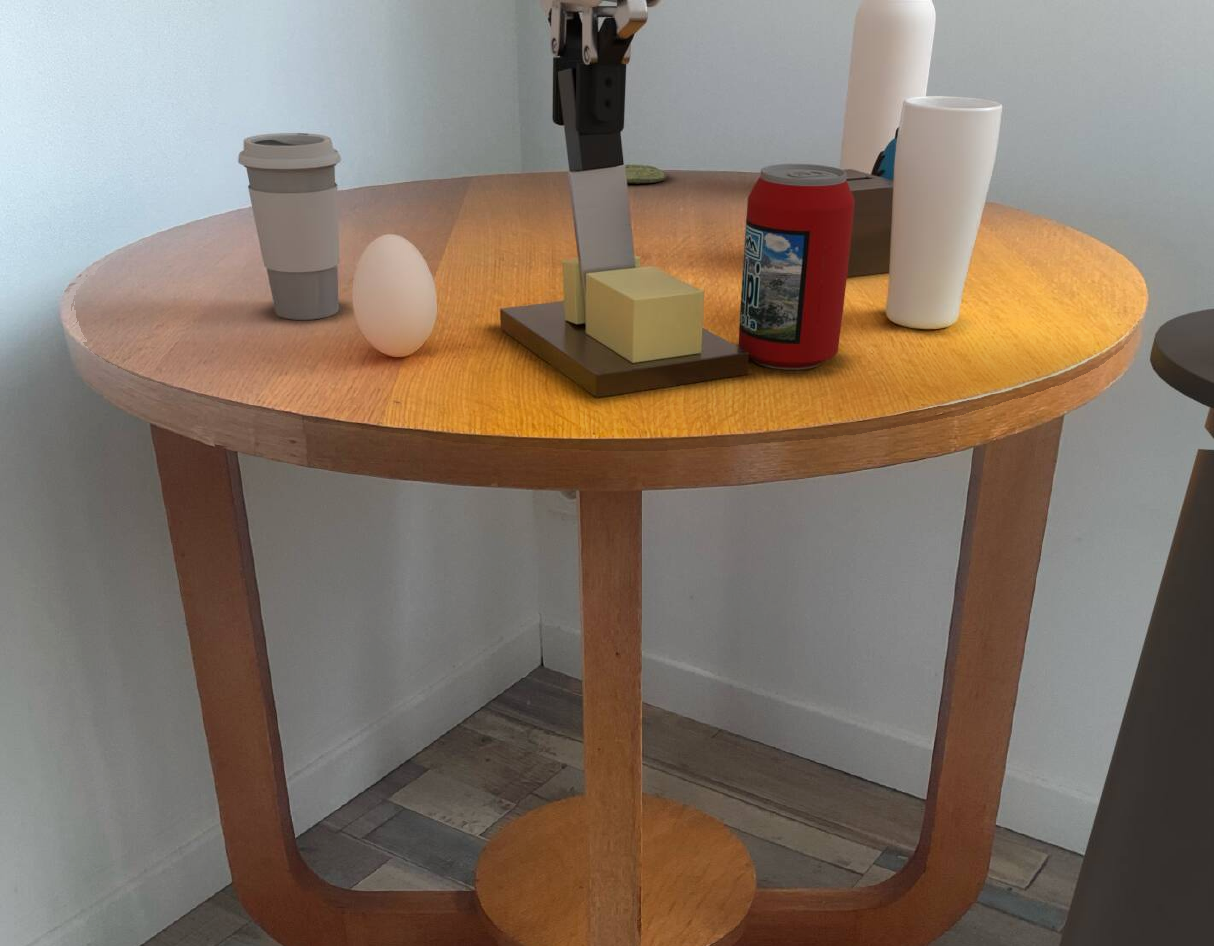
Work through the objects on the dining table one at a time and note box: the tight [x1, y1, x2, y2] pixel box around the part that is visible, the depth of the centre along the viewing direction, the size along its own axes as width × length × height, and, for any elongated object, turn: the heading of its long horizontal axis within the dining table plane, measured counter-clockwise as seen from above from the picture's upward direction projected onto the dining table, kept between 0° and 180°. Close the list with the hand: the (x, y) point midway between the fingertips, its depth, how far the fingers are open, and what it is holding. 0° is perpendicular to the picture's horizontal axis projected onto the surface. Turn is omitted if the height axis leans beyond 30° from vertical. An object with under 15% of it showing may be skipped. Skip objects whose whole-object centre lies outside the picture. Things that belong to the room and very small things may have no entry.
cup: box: [237, 132, 342, 321], centre depth 87 cm, size 7×7×12 cm
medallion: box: [624, 164, 667, 185], centre depth 137 cm, size 8×8×1 cm
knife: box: [558, 68, 636, 321], centre depth 80 cm, size 2×4×16 cm, turn 116°
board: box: [499, 300, 750, 398], centre depth 82 cm, size 16×11×2 cm
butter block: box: [586, 265, 705, 363], centre depth 78 cm, size 7×5×4 cm
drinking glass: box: [885, 95, 1003, 330], centre depth 86 cm, size 7×7×15 cm
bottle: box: [838, 0, 937, 174], centre depth 123 cm, size 8×8×30 cm
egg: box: [351, 233, 438, 358], centre depth 79 cm, size 6×6×8 cm
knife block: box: [844, 169, 893, 278], centre depth 102 cm, size 8×7×7 cm
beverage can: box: [737, 163, 855, 371], centre depth 79 cm, size 7×7×12 cm
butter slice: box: [561, 255, 641, 325], centre depth 83 cm, size 2×5×4 cm, turn 116°
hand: (587, 125), depth 78 cm, fingers closed on knife, 2 cm apart
